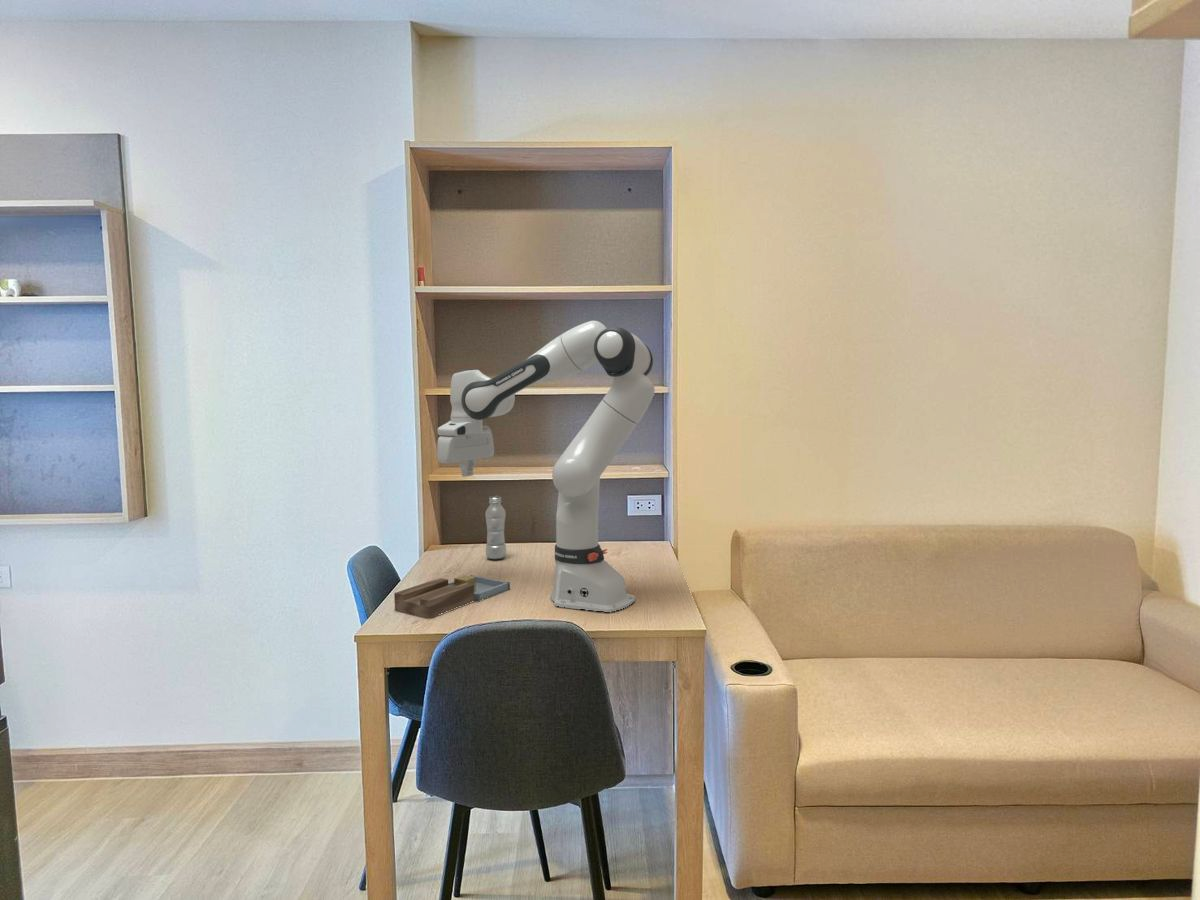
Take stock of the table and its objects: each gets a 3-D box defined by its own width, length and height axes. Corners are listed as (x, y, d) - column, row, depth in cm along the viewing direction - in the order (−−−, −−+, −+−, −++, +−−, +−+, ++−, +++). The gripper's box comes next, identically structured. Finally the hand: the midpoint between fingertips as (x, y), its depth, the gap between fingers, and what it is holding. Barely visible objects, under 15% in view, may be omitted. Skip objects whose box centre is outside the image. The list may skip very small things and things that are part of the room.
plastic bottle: (481, 559, 236) (480, 497, 234) (495, 555, 241) (494, 494, 239) (496, 562, 232) (495, 499, 230) (510, 558, 238) (509, 496, 236)
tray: (509, 589, 204) (509, 582, 203) (477, 601, 193) (477, 594, 192) (471, 581, 211) (471, 574, 211) (438, 593, 200) (438, 586, 200)
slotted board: (474, 601, 193) (473, 584, 192) (429, 618, 179) (428, 600, 179) (440, 594, 199) (440, 577, 199) (394, 610, 186) (394, 593, 185)
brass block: (465, 595, 197) (475, 591, 200) (465, 580, 197) (475, 577, 200) (454, 592, 199) (464, 589, 202) (454, 578, 199) (464, 574, 202)
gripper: (482, 424, 219) (482, 470, 220) (433, 429, 201) (434, 479, 203) (499, 425, 216) (499, 472, 217) (450, 430, 198) (451, 481, 200)
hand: (467, 475), depth 210 cm, fingers closed
